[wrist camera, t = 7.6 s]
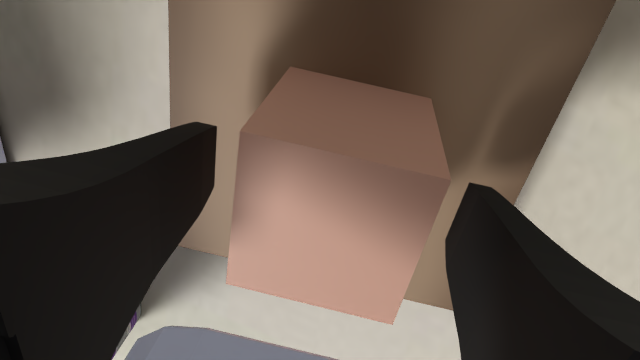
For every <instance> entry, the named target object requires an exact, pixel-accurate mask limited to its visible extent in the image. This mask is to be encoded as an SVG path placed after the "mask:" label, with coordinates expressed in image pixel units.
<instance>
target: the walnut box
mask: <svg viewBox="0 0 640 360" xmlns="http://www.w3.org/2000/svg"><path fill="white" fill-rule="evenodd" d="M615 2H616V0H168V11H169V73H170V128H173V127H177V126H180V125H183V124H187V123H191V122H201V123H205V124H210V125H214V126H217V140H216V162H215V183H214V188H213V190H212V193H211V195H210V197H209V199H208V201H207V203H206V205H205V206H204V208H203V210H202V212H201V214H200V215H199V217H198V218H197V220H196V221H195V222H194V224H193V225H192V227H191V228H190V229H189V231H188V232H187V234H186V235H185V236H184V238H183V239H182V240H181V242H180V243H179V245H178V246H181V247H185V248H189V249H193V250H198V251H202V252H206V253H210V254H215V255H219V256H223V257H227V258H228V255H229V245H230V234H231V223H232V212H233V201H234V190H235V179H236V168H237V157H238V146H239V135H240V130H241V129H242V127H243V126H244V125H245V124H246V122H247V121H248V120H249V119H250V117H251V116H252V115H253V113H254V112H255V111H256V110H257V108H258V107H259V106H260V105H261V103H262V102H263V101H264V99H265V98H266V97H267V96H268V94H269V93H270V92H271V91H272V89H273V88H274V87H275V85H276V84H277V83H278V82H279V80H280V79H281V78H282V76H283V75H284V74H285V73H286V71H287V70H288V69H289V68H290V67H295V68H299V69H304V70H308V71H312V72H317V73H321V74H326V75H330V76H334V77H339V78H343V79H348V80H352V81H356V82H361V83H365V84H370V85H374V86H378V87H383V88H387V89H392V90H396V91H400V92H405V93H409V94H414V95H418V96H422V97H427V98H431V100H432V104H433V108H434V112H435V116H436V120H437V124H438V128H439V132H440V136H441V140H442V144H443V148H444V152H445V156H446V160H447V164H448V169H449V173H450V177H451V182H450V185H449V187H448V190H447V192H446V195H445V197H444V199H443V202H442V204H441V207H440V209H439V212H438V214H437V217H436V219H435V222H434V224H433V226H432V229H431V231H430V234H429V236H428V239H427V241H426V244H425V246H424V249H423V251H422V253H421V256H420V258H419V261H418V263H417V266H416V268H415V271H414V273H413V276H412V278H411V280H410V283H409V285H408V288H407V290H406V293H405V295H404V298H403V299H406V300H410V301H415V302H419V303H423V304H428V305H432V306H436V307H440V308H445V309H449V310H453V306H452V301H451V295H450V290H449V284H448V279H447V273H446V260H445V239H446V236H447V234H448V231H449V229H450V227H451V224H452V222H453V220H454V217H455V215H456V212H457V210H458V208H459V205H460V203H461V200H462V198H463V196H464V193H465V191H466V189H467V186H468V184H469V182H470V183H475V184H479V185H484V186H488V187H492V188H493V189H495V190H496V191H497V192H499V193H500V194H501V195H502V196H503V197H505V198H506V199H507V200H508V201H509V202H510V203H511V204H512V205H514V203H515V201H516V199H517V197H518V195H519V193H520V191H521V189H522V187H523V185H524V183H525V181H526V179H527V177H528V175H529V173H530V171H531V169H532V167H533V165H534V163H535V161H536V159H537V157H538V155H539V153H540V151H541V149H542V147H543V145H544V143H545V141H546V139H547V137H548V135H549V133H550V131H551V129H552V127H553V125H554V123H555V121H556V119H557V117H558V115H559V113H560V111H561V109H562V107H563V105H564V103H565V101H566V99H567V97H568V95H569V93H570V91H571V89H572V87H573V85H574V83H575V81H576V79H577V77H578V75H579V73H580V71H581V69H582V67H583V65H584V63H585V61H586V59H587V57H588V55H589V53H590V51H591V49H592V47H593V45H594V43H595V41H596V39H597V37H598V35H599V33H600V31H601V29H602V27H603V25H604V23H605V21H606V19H607V17H608V15H609V14H610V12H611V10H612V8H613V6H614V4H615Z"/></svg>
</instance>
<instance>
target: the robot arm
mask: <svg viewBox="0 0 640 360" xmlns="http://www.w3.org/2000/svg"><path fill="white" fill-rule="evenodd" d="M216 140H217V126H214V125H210V124H205V123H201V122H191V123H187V124H183V125H180V126H177V127H173V128H170V129H167V130H164V131H161V132H158V133H155V134H151V135H148V136H145V137H142V138H139V139H135V140H132V141H128V142H124V143H121V144H117V145H114V146H110V147H106V148H102V149H98V150H93V151H89V152H83V153H78V154H73V155H67V156H61V157H54V158H45V159H37V160H29V161H20V162H9V163H7V162H6V158H5V154H4V150H3V146H2V142H1V138H0V360H111V358H112V356H113V354H114V352H115V350H116V348H117V346H118V344H119V342H120V340H121V338H122V337H123V335H124V333H125V331H126V329H127V327H128V325H129V323H130V321H131V320H132V318H133V316H134V314H135V312H136V310H137V308H138V307H139V305H140V303H141V301H142V299H143V298H144V296H145V294H146V292H147V291H148V289H149V287H150V285H151V283H152V282H153V280H154V279H155V277H156V276H157V274H158V272H159V271H160V269H161V268H162V267H163V265H164V264H165V262H166V261H167V260H168V258H169V257H170V256H171V254H172V253H173V251H174V250H175V249H176V247H177V246H178V245H179V243H180V242H181V240H182V239H183V238H184V236H185V235H186V234H187V232H188V231H189V229H190V228H191V227H192V225H193V224H194V222H195V221H196V220H197V218H198V217H199V215H200V214H201V212H202V210H203V208H204V206H205V205H206V203H207V201H208V199H209V197H210V195H211V193H212V190H213V188H214V183H215V162H216ZM445 260H446V273H447V279H448V284H449V290H450V295H451V301H452V306H453V311H454V316H455V322H456V327H457V332H458V338H459V344H460V352H461V360H640V302H639V301H638V300H636V299H634V298H633V297H631V296H629V295H628V294H626V293H624V292H623V291H621V290H620V289H618V288H616V287H615V286H613V285H612V284H610V283H609V282H607V281H606V280H604V279H603V278H601V277H600V276H599V275H597V274H596V273H594V272H593V271H591V270H590V269H589V268H587V267H586V266H584V265H583V264H582V263H580V262H579V261H578V260H576V259H575V258H574V257H572V256H571V255H570V254H569V253H567V252H566V251H565V250H564V249H562V248H561V247H560V246H559V245H557V244H556V243H555V242H554V241H553V240H551V239H550V238H549V237H548V236H547V235H546V234H544V233H543V232H542V231H541V230H540V229H539V228H538V227H536V226H535V225H534V224H533V223H532V222H531V221H530V220H529V219H528V218H527V217H525V216H524V215H523V214H522V213H521V212H520V211H519V210H518V209H517V208H516V207H515V206H513V205H512V204H511V203H510V202H509V201H508V200H507V199H506V198H505V197H503V196H502V195H501V194H500V193H499V192H497V191H496V190H495V189H493V188H492V187H488V186H484V185H479V184H475V183H470V182H469V184H468V186H467V189H466V191H465V193H464V196H463V198H462V200H461V203H460V205H459V208H458V210H457V212H456V215H455V217H454V220H453V222H452V224H451V227H450V229H449V231H448V234H447V236H446V239H445ZM125 360H338V359H334V358H330V357H325V356H321V355H317V354H313V353H309V352H305V351H301V350H296V349H292V348H288V347H284V346H280V345H276V344H272V343H268V342H263V341H259V340H255V339H251V338H247V337H243V336H239V335H235V334H230V333H226V332H222V331H218V330H214V329H210V328H200V327H183V326H167V327H163V328H161V329H159V330H156V331H154V332H152V333H150V334H148V335H145V336H143V337H141V338H139V339H137V341H136V342H135V344H134V345H133V347H132V349H131V350H130V352H129V353H128V355H127V357H126V358H125Z"/></svg>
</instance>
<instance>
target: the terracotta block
mask: <svg viewBox="0 0 640 360" xmlns="http://www.w3.org/2000/svg"><path fill="white" fill-rule="evenodd" d="M450 182H451V177H450V173H449V169H448V164H447V160H446V156H445V152H444V148H443V144H442V140H441V136H440V132H439V128H438V124H437V120H436V116H435V112H434V108H433V104H432V100H431V98H427V97H422V96H418V95H414V94H409V93H405V92H400V91H396V90H392V89H387V88H383V87H378V86H374V85H370V84H365V83H361V82H356V81H352V80H348V79H343V78H339V77H334V76H330V75H326V74H321V73H317V72H312V71H308V70H304V69H299V68H295V67H290V68H289V69H288V70H287V71H286V73H285V74H284V75H283V76H282V78H281V79H280V80H279V82H278V83H277V84H276V85H275V87H274V88H273V89H272V91H271V92H270V93H269V94H268V96H267V97H266V98H265V99H264V101H263V102H262V103H261V105H260V106H259V107H258V108H257V110H256V111H255V112H254V113H253V115H252V116H251V117H250V119H249V120H248V121H247V122H246V124H245V125H244V126H243V127H242V129H241V130H240V135H239V146H238V157H237V168H236V179H235V190H234V201H233V212H232V223H231V234H230V245H229V255H228V266H227V277H226V284H229V285H233V286H237V287H241V288H245V289H250V290H254V291H258V292H262V293H266V294H270V295H274V296H278V297H282V298H286V299H290V300H294V301H298V302H302V303H306V304H310V305H314V306H319V307H323V308H327V309H331V310H335V311H339V312H343V313H347V314H351V315H355V316H359V317H363V318H367V319H371V320H375V321H379V322H383V323H387V324H392V325H393V322H394V320H395V317H396V315H397V312H398V310H399V307H400V305H401V303H402V300H403V298H404V295H405V293H406V290H407V288H408V285H409V283H410V280H411V278H412V276H413V273H414V271H415V268H416V266H417V263H418V261H419V258H420V256H421V253H422V251H423V249H424V246H425V244H426V241H427V239H428V236H429V234H430V231H431V229H432V226H433V224H434V222H435V219H436V217H437V214H438V212H439V209H440V207H441V204H442V202H443V199H444V197H445V195H446V192H447V190H448V187H449V185H450Z"/></svg>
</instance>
